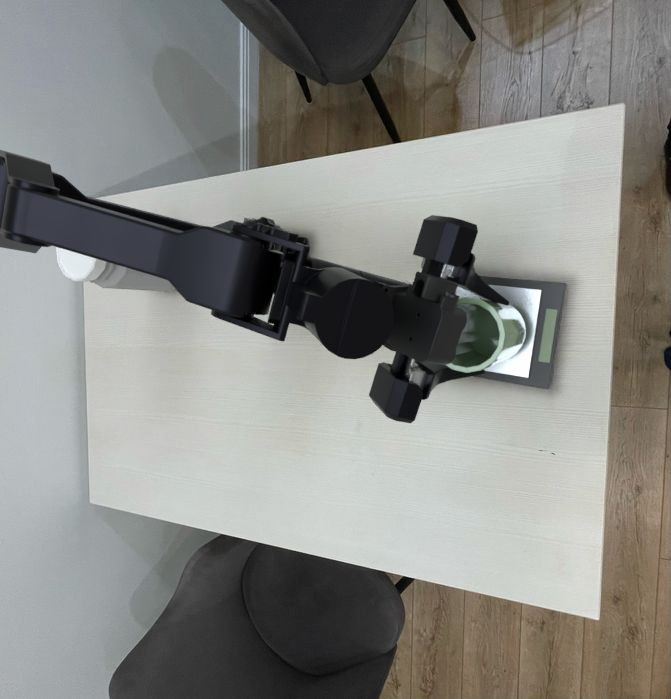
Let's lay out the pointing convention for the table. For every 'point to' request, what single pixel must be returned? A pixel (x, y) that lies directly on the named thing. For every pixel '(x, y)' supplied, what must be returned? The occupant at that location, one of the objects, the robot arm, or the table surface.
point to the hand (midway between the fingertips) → (494, 337)
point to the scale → (528, 329)
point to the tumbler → (487, 335)
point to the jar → (107, 273)
